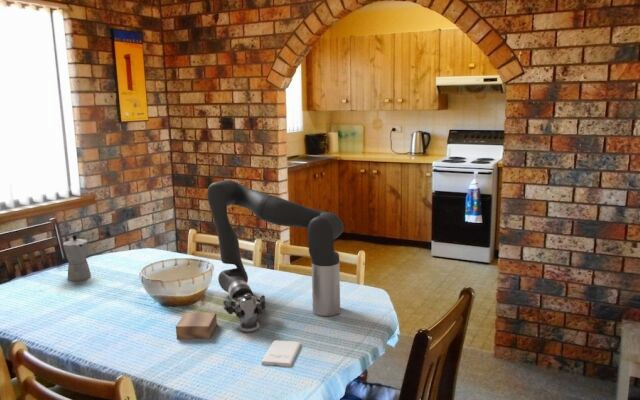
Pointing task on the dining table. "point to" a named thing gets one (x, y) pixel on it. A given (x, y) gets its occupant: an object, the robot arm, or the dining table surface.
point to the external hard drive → (281, 353)
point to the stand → (196, 326)
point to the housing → (248, 314)
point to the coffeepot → (77, 259)
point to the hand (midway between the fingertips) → (249, 313)
